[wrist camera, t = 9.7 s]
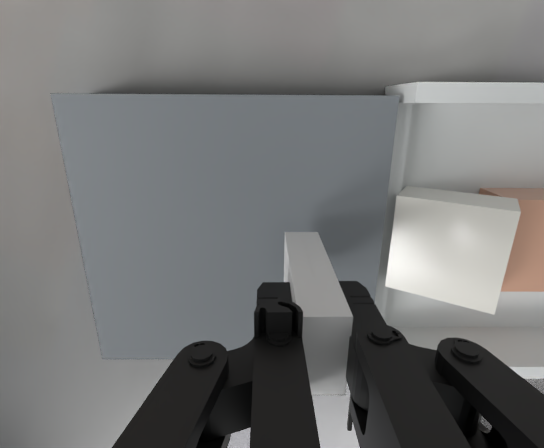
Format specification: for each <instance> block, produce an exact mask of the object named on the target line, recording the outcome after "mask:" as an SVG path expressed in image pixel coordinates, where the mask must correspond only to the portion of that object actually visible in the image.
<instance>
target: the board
mask: <svg viewBox="0 0 544 448" xmlns="http://www.w3.org/2000/svg"><path fill="white" fill-rule="evenodd" d="M50 94H51V99H52V104H53V109H54V114H55V119H56V124H57V129H58V135H59V140H60V145H61V150H62V155H63V160H64V165H65V170H66V176H67V181H68V186H69V191H70V196H71V201H72V206H73V211H74V217H75V222H76V227H77V232H78V237H79V242H80V247H81V252H82V258H83V263H84V268H85V273H86V278H87V283H88V288H89V293H90V298H91V304H92V309H93V314H94V319H95V324H96V329H97V334H98V339H99V345H100V350H101V355H102V359H174V358H175V357H176V356H177V354H178V353H179V352H180V351H181V350H182V349H183V348H184V347H186V346H188V345H190V344H192V343H194V342H199V341H214V342H217V343H220V344H221V345H223V346H224V347H225V348H226V350H227V351H229V350H233V349H237V348H240V347H242V346H244V345H246V344H247V343H249V342H250V341H251V340H252V338H253V337H254V311H255V309H256V306H257V289H258V288H259V286H260V285H261V284H262V283H263V282H284V243H285V232H318V234H319V236H320V238H321V241H322V243H323V246H324V248H325V250H326V253H327V255H328V258H329V260H330V262H331V265H332V267H333V270H334V272H335V274H336V277H337V279H338V281H358V282H359V283H360V284H362V285H363V286H364V287H366V288H367V290H368V292H369V294H370V295H371V298H372V299H373V301H374V304H375V295H376V287H377V279H378V271H379V262H380V254H381V246H382V237H383V229H384V221H385V213H386V204H387V196H388V188H389V179H390V171H391V163H392V155H393V146H394V138H395V130H396V121H397V113H398V105H399V97H400V96H386V95H221V94H56V93H50Z"/></svg>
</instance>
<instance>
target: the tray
mask: <svg viewBox="0 0 544 448" xmlns="http://www.w3.org/2000/svg"><path fill="white" fill-rule="evenodd" d="M385 95H386V96H400V97H399V105H398V113H397V121H396V130H395V138H394V146H393V155H392V163H391V171H390V179H389V188H388V196H387V204H386V213H385V221H384V229H383V237H382V246H381V254H380V262H379V271H378V279H377V287H376V295H375V304H376V306H377V308H378V310H379V312H380V313H381V315H382V317H383V319H384V321H385V322H386V324H387V325H389V326H392V327H393V328H395V329H397V330H398V331H400V332H401V333H402V334H403V335H404V337H405V338H406V340H407V341H408V343H409V344H411V345H415V346H419V347H423V348H428V349H433V350H437V347H438V344H439V343H440V341H441V340H443V339H446V338H462V339H467V340H469V341H472V342H474V343H477V344H479V345H480V346H482V347H483V348H485V349H487V350H488V351H489V352H490V353H492V354H493V355H494V356H496V357H497V358H498V359H499V360H501V361H502V362H503V363H504V364H506V365H507V366H508V367H509V368H511V369H512V370H513V371H514V372H516V373H517V374H518V375H520V376H521V377H522V378H523V379H544V292H500V295H499V299H498V303H497V307H496V311H495V315H493V314H489V313H485V312H482V311H478V310H474V309H470V308H466V307H463V306H459V305H455V304H451V303H447V302H443V301H440V300H436V299H432V298H428V297H424V296H420V295H417V294H413V293H409V292H405V291H401V290H397V289H394V288H390V287H386V286H385V283H386V275H387V267H388V260H389V252H390V244H391V236H392V229H393V221H394V213H395V206H396V198H397V195H398V194H399V193H400V192H401V191H402V190H403V189H404V188H405V187H406V186H413V187H421V188H430V189H439V190H447V191H456V192H464V193H473V194H479V191H480V188H544V83H536V82H413V83H406V84H399V85H392V86H386V87H385Z"/></svg>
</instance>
